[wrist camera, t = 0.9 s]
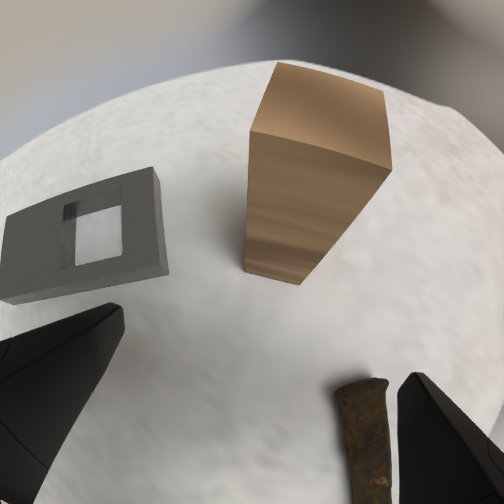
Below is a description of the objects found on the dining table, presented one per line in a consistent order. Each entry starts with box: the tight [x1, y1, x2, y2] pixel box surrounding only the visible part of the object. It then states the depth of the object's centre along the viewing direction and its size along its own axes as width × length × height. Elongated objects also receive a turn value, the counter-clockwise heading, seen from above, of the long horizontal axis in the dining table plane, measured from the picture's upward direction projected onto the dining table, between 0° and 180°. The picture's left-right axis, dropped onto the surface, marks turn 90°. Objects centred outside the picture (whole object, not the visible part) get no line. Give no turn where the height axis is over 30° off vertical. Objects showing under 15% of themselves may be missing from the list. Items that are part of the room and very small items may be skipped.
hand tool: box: [334, 377, 392, 504], centre depth 14 cm, size 19×4×5 cm, turn 8°
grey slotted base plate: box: [0, 166, 169, 305], centre depth 21 cm, size 18×9×2 cm, turn 103°
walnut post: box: [245, 62, 392, 285], centre depth 15 cm, size 4×4×15 cm
